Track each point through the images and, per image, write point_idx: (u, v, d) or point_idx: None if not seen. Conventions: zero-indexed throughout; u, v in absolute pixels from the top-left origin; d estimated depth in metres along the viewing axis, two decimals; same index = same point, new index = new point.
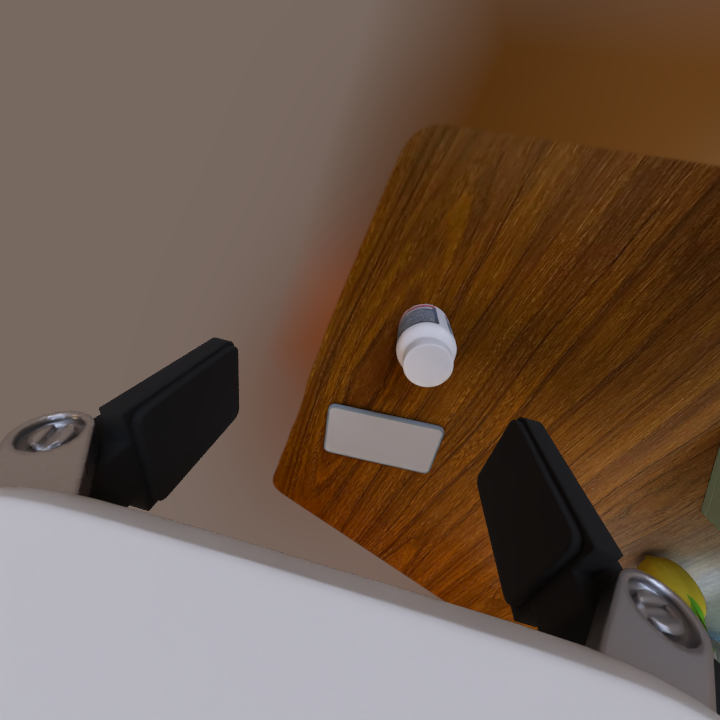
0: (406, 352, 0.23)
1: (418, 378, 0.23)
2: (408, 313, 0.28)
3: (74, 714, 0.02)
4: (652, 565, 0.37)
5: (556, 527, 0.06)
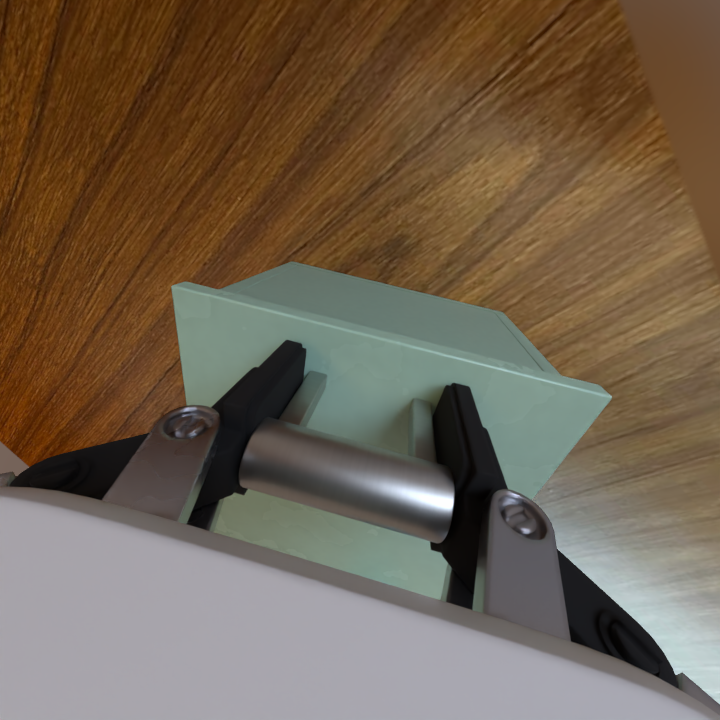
0: None
1: None
2: None
3: (75, 712, 0.02)
4: None
5: (456, 462, 0.07)
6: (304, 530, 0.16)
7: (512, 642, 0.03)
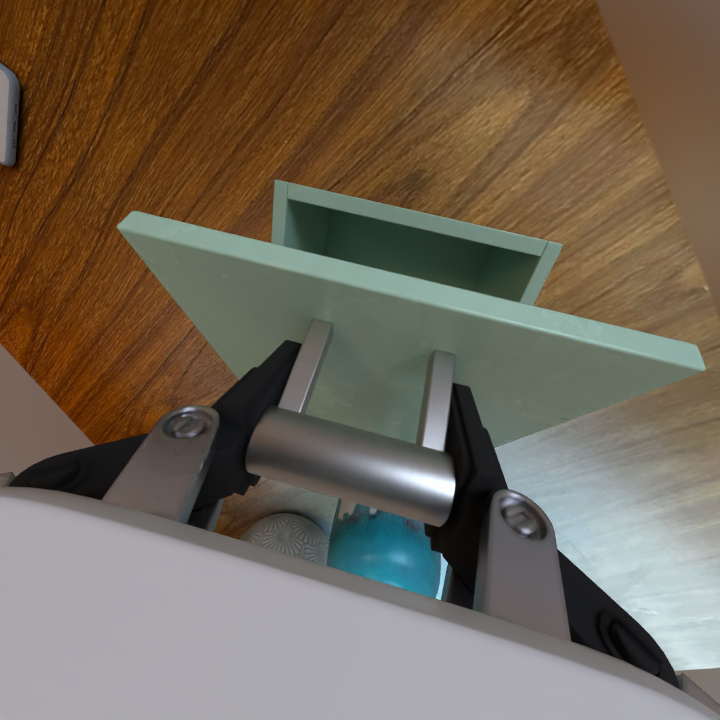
0: None
1: None
2: None
3: (75, 712, 0.02)
4: None
5: (456, 462, 0.07)
6: (337, 415, 0.18)
7: (512, 642, 0.03)
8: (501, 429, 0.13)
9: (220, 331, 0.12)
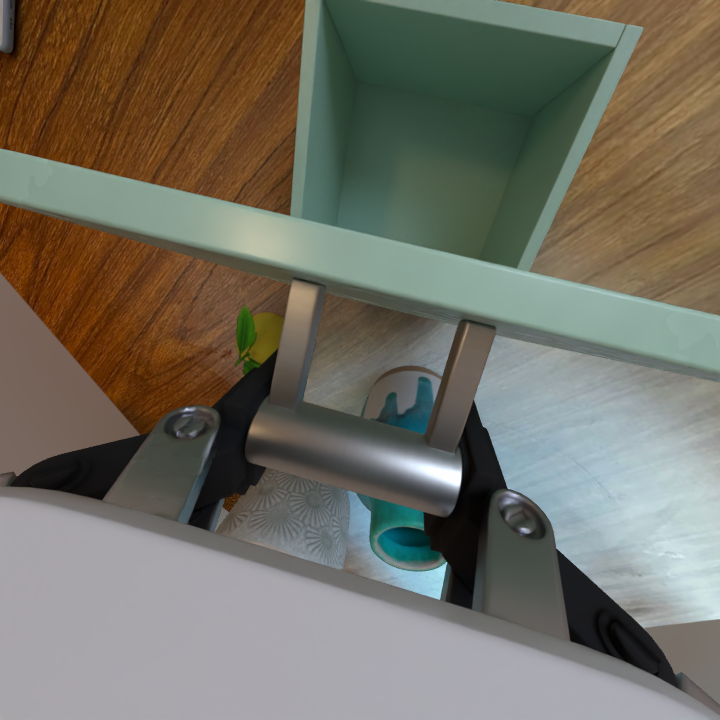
0: None
1: None
2: None
3: (74, 714, 0.02)
4: None
5: None
6: None
7: (512, 642, 0.03)
8: (552, 346, 0.11)
9: (195, 256, 0.09)
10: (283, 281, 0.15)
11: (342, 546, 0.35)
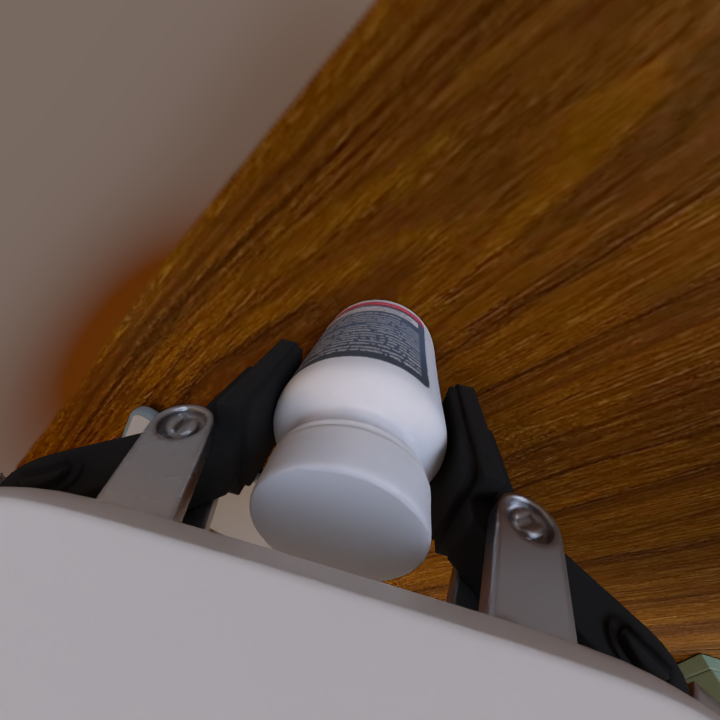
0: (284, 455, 0.06)
1: (290, 544, 0.06)
2: (361, 310, 0.11)
3: (75, 712, 0.02)
4: None
5: (462, 465, 0.07)
6: None
7: (512, 642, 0.03)
8: None
9: None
10: None
11: None
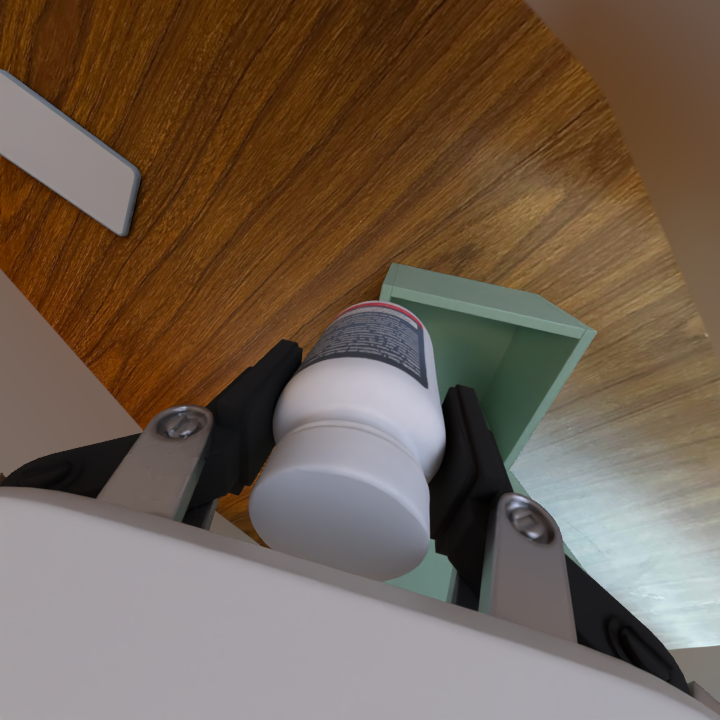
0: (282, 456, 0.06)
1: (289, 545, 0.07)
2: (360, 311, 0.11)
3: (74, 712, 0.02)
4: None
5: (462, 465, 0.07)
6: None
7: (512, 642, 0.03)
8: None
9: None
10: None
11: None
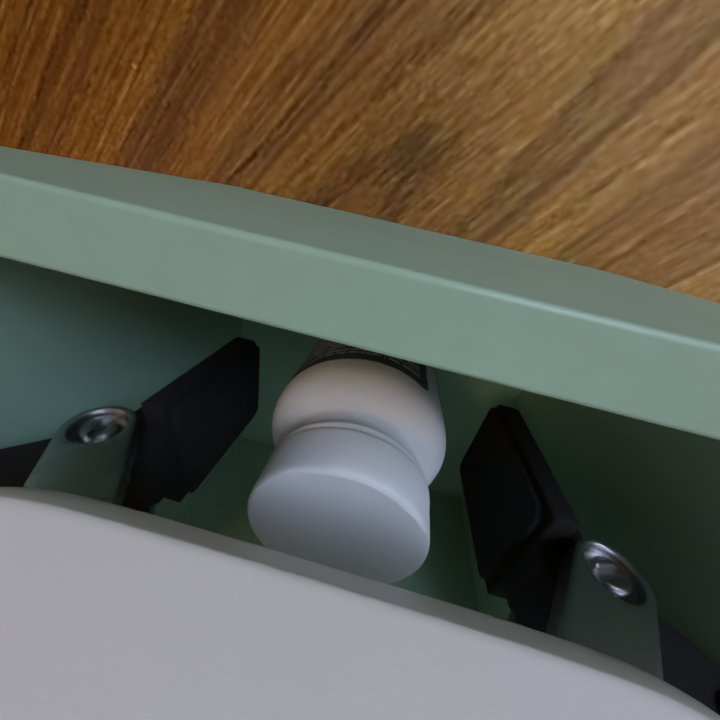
0: (281, 458, 0.06)
1: (288, 547, 0.06)
2: None
3: (74, 713, 0.02)
4: None
5: (523, 502, 0.06)
6: None
7: (512, 642, 0.03)
8: None
9: None
10: None
11: None
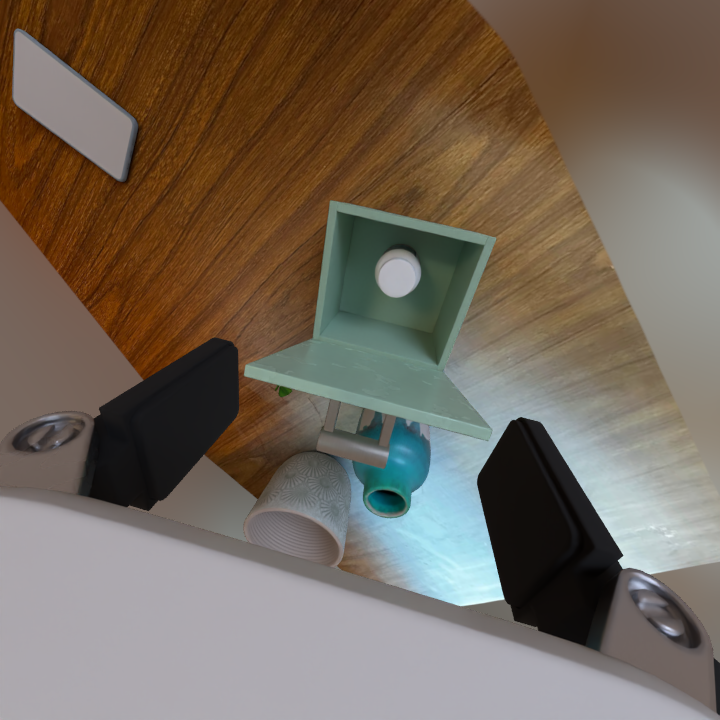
0: (386, 261, 0.29)
1: (385, 285, 0.30)
2: (395, 245, 0.34)
3: (74, 714, 0.02)
4: None
5: (556, 527, 0.06)
6: None
7: (512, 642, 0.03)
8: None
9: None
10: None
11: (345, 515, 0.48)
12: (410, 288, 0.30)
